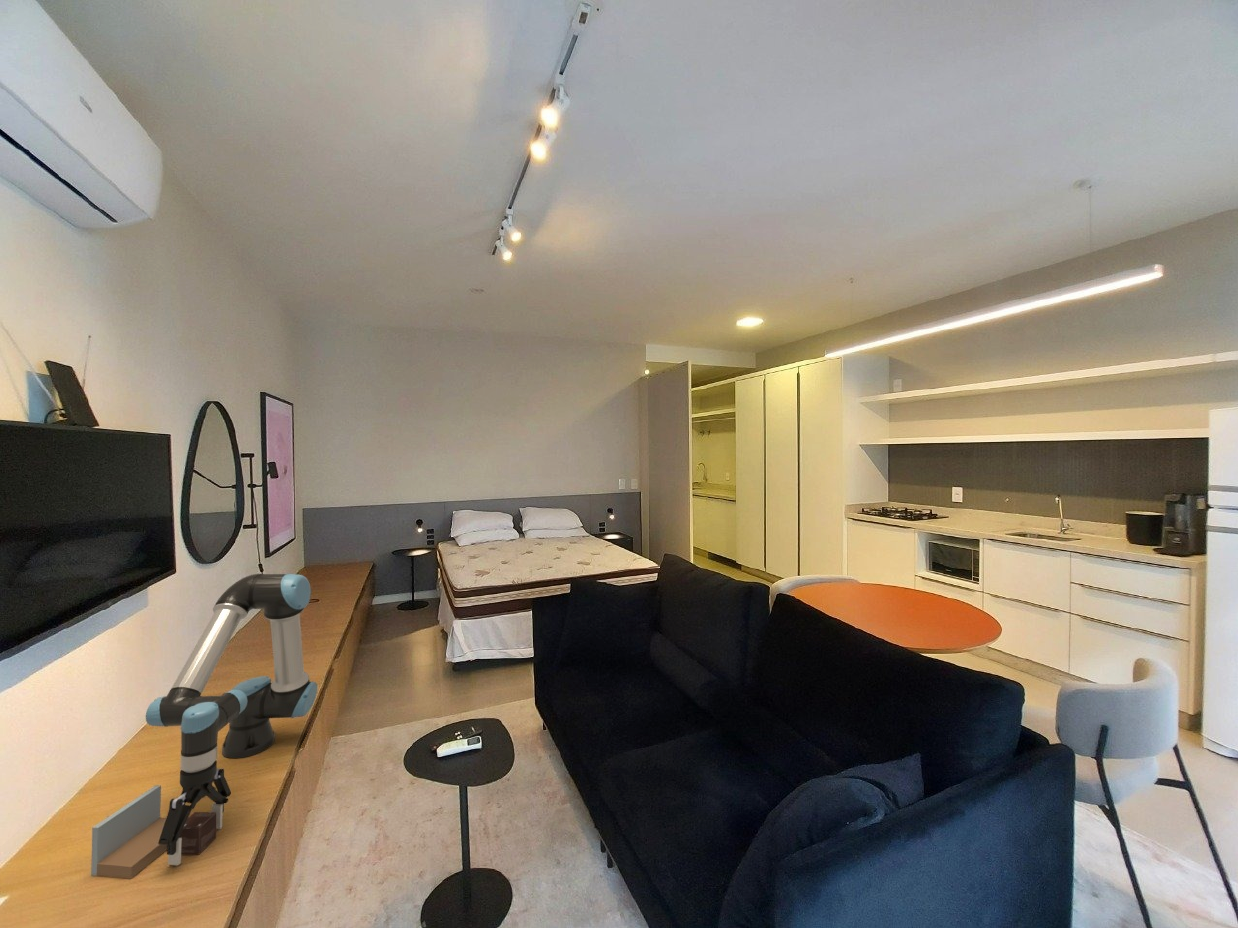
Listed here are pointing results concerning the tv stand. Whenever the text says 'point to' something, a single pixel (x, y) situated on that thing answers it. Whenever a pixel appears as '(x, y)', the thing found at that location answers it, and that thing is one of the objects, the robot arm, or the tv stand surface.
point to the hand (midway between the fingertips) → (196, 845)
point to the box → (198, 832)
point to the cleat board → (129, 837)
